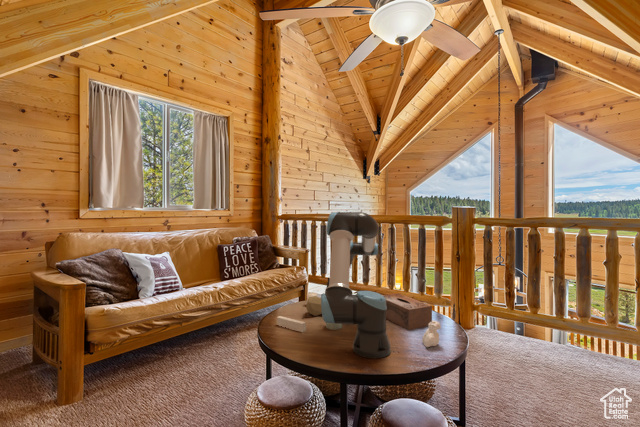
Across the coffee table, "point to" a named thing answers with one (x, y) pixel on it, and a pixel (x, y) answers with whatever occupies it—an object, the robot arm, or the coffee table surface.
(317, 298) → the low-poly potato
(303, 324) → the rail
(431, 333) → the bust
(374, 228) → the robot arm
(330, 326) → the pale green egg
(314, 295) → the cream capsule
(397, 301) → the tissue box cover
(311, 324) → the coffee table surface
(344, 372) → the coffee table surface
